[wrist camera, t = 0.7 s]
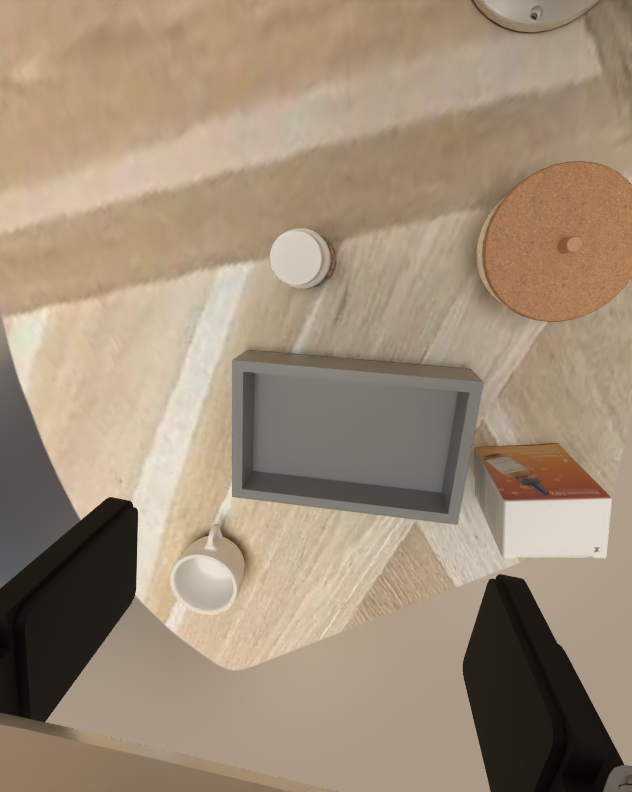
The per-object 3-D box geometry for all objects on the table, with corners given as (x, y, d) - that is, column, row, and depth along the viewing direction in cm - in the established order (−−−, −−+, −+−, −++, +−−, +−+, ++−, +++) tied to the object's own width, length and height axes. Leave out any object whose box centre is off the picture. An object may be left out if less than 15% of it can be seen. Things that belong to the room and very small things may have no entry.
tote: (247, 349, 43) (232, 360, 38) (470, 369, 41) (483, 382, 36) (246, 473, 47) (232, 496, 42) (448, 497, 45) (457, 524, 40)
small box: (558, 442, 42) (616, 497, 32) (555, 492, 43) (610, 560, 33) (473, 445, 43) (503, 499, 33) (473, 495, 44) (502, 561, 34)
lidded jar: (454, 308, 39) (478, 319, 30) (473, 180, 36) (506, 151, 27) (576, 316, 38) (638, 330, 29) (607, 185, 35) (686, 156, 26)
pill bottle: (343, 276, 40) (336, 278, 32) (296, 293, 41) (278, 299, 33) (327, 226, 39) (315, 214, 31) (279, 244, 40) (256, 238, 32)
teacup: (247, 586, 52) (234, 621, 47) (187, 573, 52) (167, 606, 47) (256, 516, 49) (243, 546, 44) (192, 503, 49) (171, 530, 44)
